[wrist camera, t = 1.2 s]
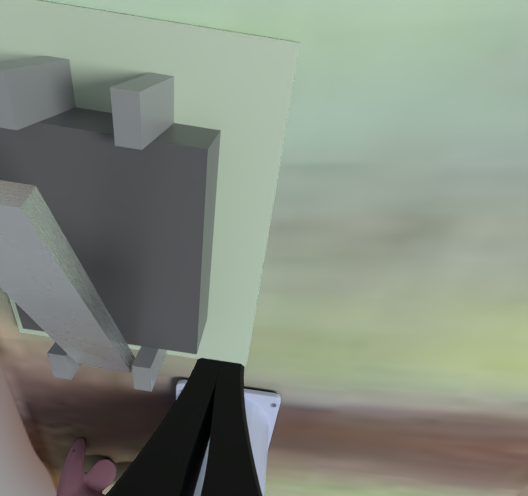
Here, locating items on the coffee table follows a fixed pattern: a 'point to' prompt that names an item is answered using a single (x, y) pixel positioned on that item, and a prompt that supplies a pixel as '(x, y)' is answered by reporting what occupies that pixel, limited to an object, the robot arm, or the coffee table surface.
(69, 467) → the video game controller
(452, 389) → the coffee table surface
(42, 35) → the board
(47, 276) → the block
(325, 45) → the coffee table surface
